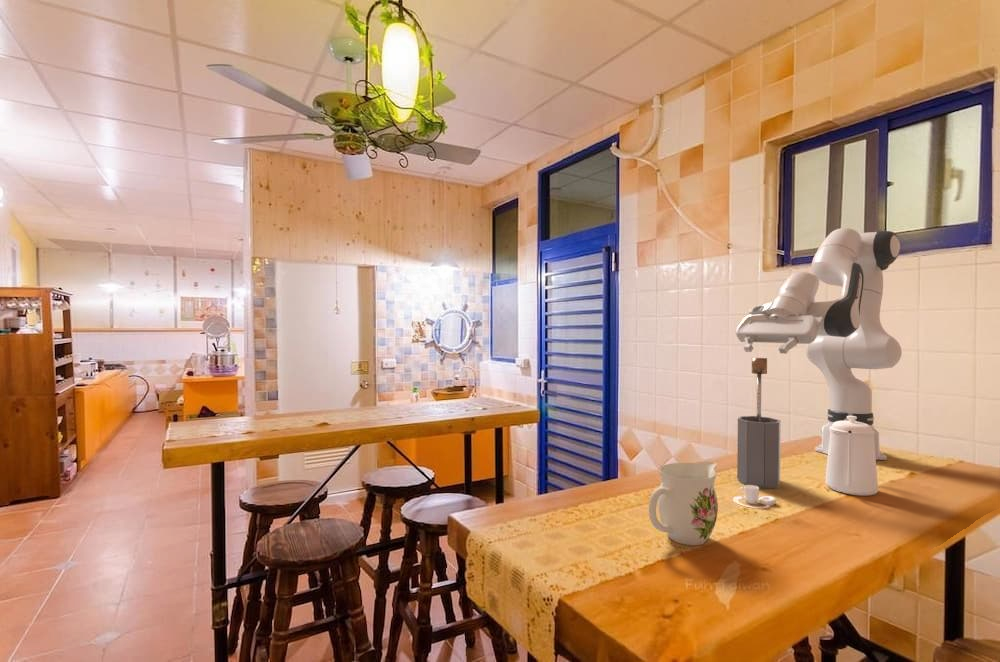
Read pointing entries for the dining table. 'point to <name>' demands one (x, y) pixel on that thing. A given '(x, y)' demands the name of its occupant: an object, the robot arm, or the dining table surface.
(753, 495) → the teacup and saucer
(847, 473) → the coffeepot
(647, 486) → the dining table surface
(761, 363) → the plunger
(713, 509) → the pitcher
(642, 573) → the dining table surface
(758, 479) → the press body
